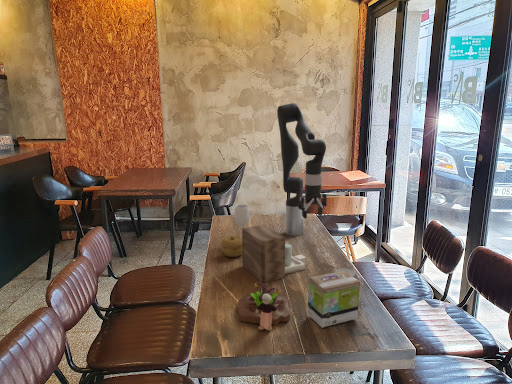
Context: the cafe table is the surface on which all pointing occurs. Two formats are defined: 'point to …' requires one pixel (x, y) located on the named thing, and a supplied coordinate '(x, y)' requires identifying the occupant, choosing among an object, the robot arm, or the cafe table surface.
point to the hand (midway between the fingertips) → (312, 216)
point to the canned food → (347, 271)
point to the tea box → (333, 298)
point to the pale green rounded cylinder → (288, 255)
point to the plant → (254, 299)
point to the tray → (296, 264)
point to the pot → (232, 246)
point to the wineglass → (241, 215)
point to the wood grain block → (263, 253)
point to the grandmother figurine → (266, 312)
